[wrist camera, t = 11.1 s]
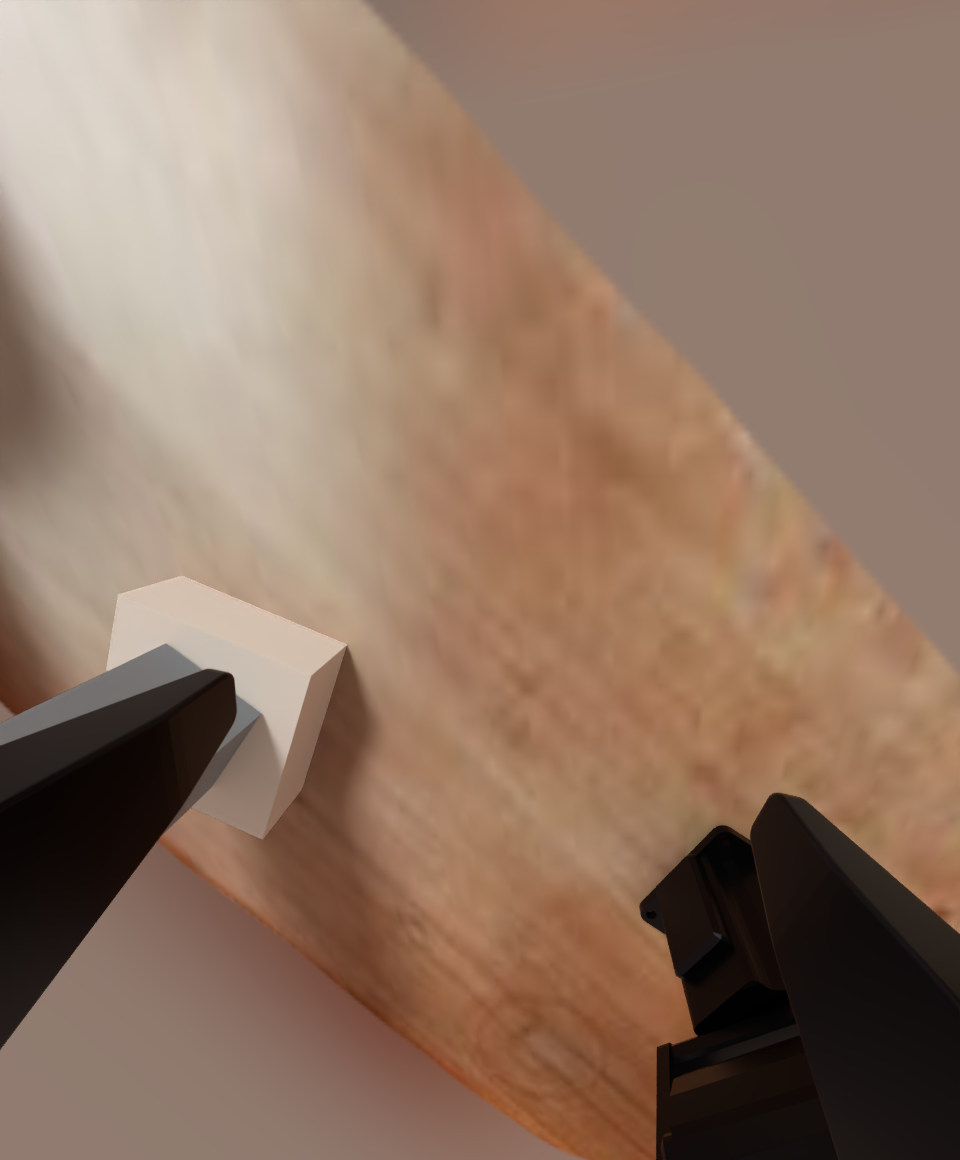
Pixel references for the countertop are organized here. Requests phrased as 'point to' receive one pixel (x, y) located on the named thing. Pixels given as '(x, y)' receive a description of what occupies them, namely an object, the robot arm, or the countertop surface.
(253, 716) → the grey column
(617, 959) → the countertop surface
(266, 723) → the cream slab
